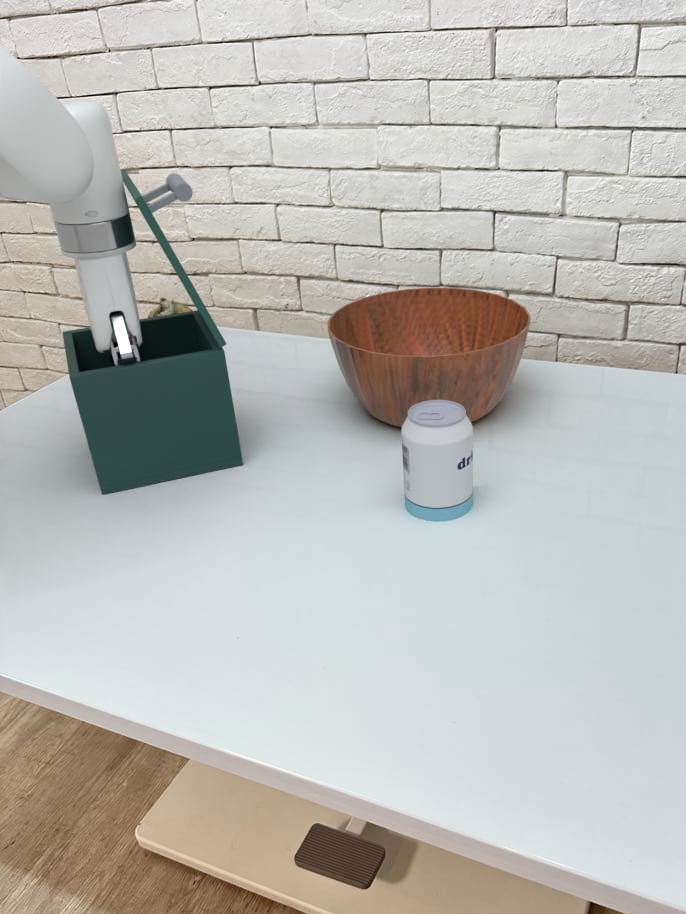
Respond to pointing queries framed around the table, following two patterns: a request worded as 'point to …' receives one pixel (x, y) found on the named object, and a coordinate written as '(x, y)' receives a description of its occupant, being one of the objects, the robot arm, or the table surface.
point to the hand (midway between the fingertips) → (134, 394)
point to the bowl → (429, 349)
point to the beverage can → (437, 461)
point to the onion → (168, 308)
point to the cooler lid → (183, 194)
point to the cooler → (155, 404)
